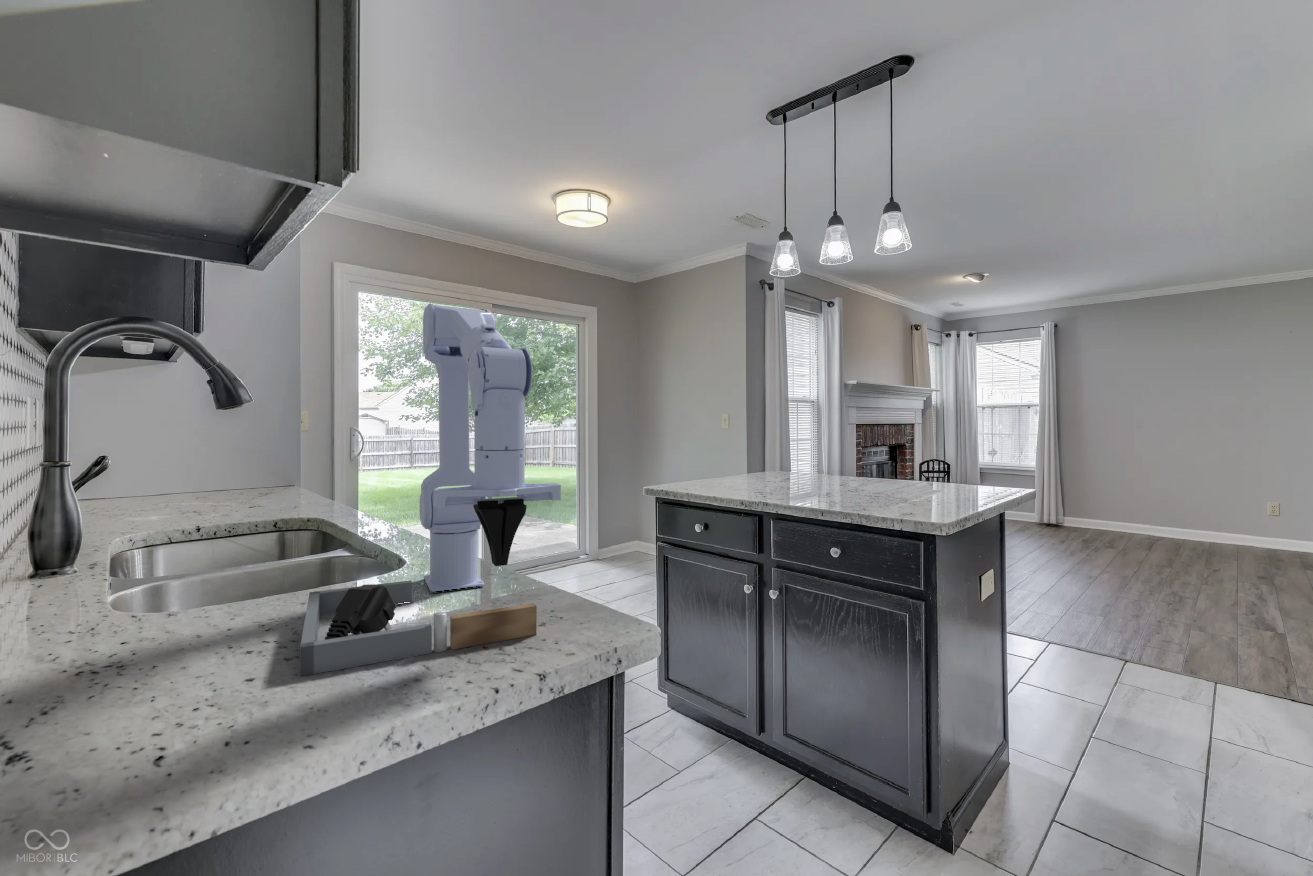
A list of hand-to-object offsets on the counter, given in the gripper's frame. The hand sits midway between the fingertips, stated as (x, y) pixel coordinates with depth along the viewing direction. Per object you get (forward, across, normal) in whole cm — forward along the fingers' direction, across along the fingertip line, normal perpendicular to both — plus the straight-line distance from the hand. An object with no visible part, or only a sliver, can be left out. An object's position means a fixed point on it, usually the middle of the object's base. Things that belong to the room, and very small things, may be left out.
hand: (499, 563), depth 67 cm
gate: (+9, 0, +1) cm, 10 cm away
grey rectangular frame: (+10, -13, +11) cm, 20 cm away
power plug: (+10, -15, +7) cm, 20 cm away
